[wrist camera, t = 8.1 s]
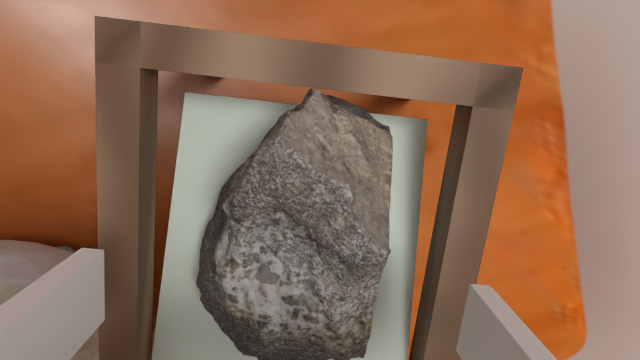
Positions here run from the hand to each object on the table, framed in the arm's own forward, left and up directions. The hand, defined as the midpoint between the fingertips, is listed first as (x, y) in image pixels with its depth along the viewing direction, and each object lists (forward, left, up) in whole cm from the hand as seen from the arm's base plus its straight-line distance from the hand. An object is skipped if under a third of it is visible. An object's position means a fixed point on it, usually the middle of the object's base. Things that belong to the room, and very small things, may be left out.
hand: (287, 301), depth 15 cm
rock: (0, 0, -7) cm, 7 cm away
